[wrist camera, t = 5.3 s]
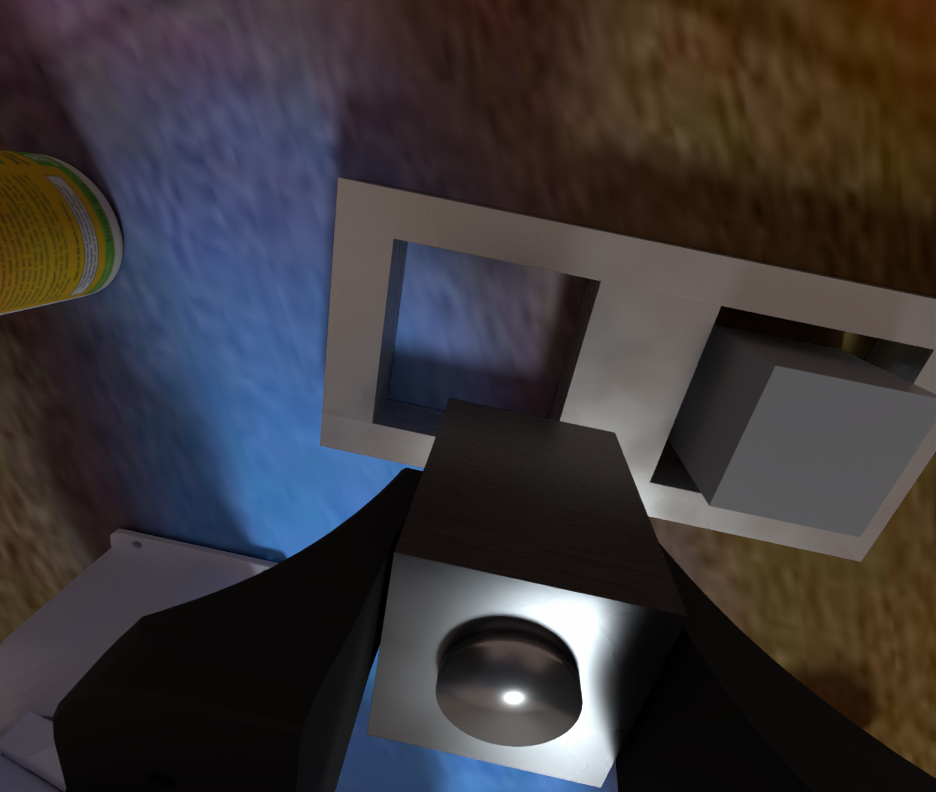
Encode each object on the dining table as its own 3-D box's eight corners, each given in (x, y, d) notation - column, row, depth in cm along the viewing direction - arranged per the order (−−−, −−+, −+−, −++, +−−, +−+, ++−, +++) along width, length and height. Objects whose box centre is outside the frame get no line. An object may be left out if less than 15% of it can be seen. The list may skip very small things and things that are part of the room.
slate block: (665, 435, 20) (709, 506, 16) (710, 322, 18) (775, 365, 14) (781, 459, 20) (859, 537, 15) (839, 348, 18) (949, 400, 13)
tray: (340, 419, 21) (320, 445, 19) (361, 180, 17) (338, 177, 15) (824, 523, 21) (860, 561, 19) (960, 301, 17) (1026, 317, 15)
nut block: (425, 529, 14) (362, 751, 9) (449, 397, 13) (389, 566, 7) (570, 561, 14) (602, 806, 9) (615, 432, 13) (694, 632, 7)
